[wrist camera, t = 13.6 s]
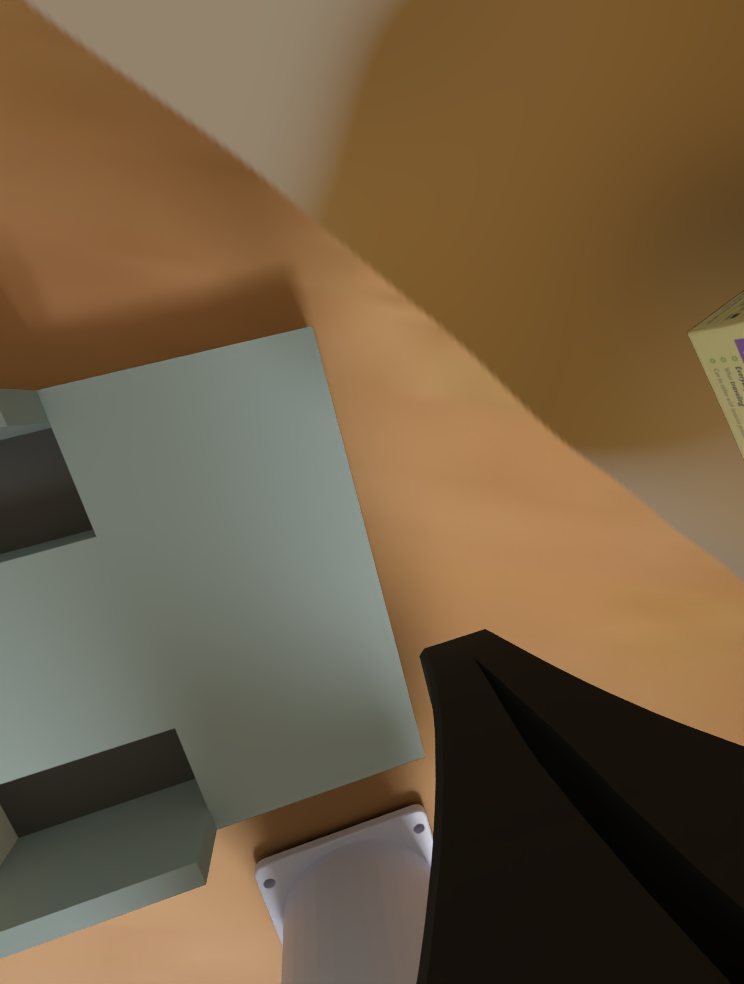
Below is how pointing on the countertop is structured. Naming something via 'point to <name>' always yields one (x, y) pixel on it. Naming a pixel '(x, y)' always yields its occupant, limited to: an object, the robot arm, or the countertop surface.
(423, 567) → the countertop surface
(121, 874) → the trap tray
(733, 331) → the box
